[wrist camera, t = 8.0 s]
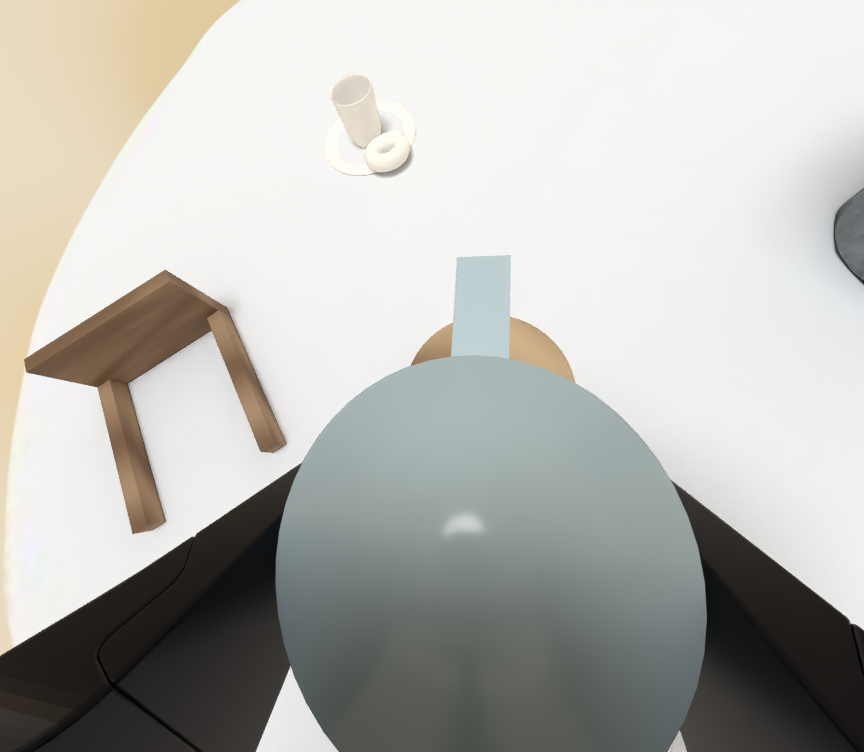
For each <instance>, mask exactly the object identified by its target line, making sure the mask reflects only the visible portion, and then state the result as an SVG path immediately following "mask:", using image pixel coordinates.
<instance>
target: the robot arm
mask: <svg viewBox="0 0 864 752" xmlns="http://www.w3.org/2000/svg"><path fill="white" fill-rule="evenodd" d="M301 465H302V463H301V464H299V465H298V466H296V467H295V468H293V469H292V470H290V471H289V472H287V473H286V474H284V475H283V476H281V477H280V478H278V479H277V480H275V481H274V482H272V483H271V484H270V485H268V486H267V487H265V488H264V489H262V490H261V491H259V492H258V493H256V494H255V495H253V496H252V497H250V498H249V499H247V500H246V501H244V502H243V503H241V504H240V505H238V506H237V507H235V508H234V509H232V510H231V511H230V512H228V513H227V514H225V515H224V516H222V517H221V518H219V519H218V520H216V521H215V522H213V523H212V524H210V525H209V526H207V527H206V528H204V529H203V530H201V531H200V532H198V533H197V534H196V536H195V537H191V538H189V539H188V540H186V541H185V542H183V543H182V544H180V545H179V546H177V547H176V548H174V549H173V550H172V551H170V552H168V553H167V554H165V555H164V556H162V557H161V558H159V559H158V560H156V561H155V562H153V563H152V564H150V565H149V566H147V567H146V568H144V569H142V570H141V571H139V572H138V573H136V574H135V575H133V576H131V577H130V578H128V579H126V580H125V581H123V582H122V583H120V584H118V585H117V586H115V587H114V588H112V589H110V590H109V591H107V592H105V593H104V594H102V595H101V596H99V597H97V598H96V599H94V600H92V601H91V602H89V603H87V604H86V605H84V606H82V607H81V608H79V609H77V610H76V611H74V612H72V613H71V614H69V615H67V616H66V617H64V618H62V619H61V620H59V621H57V622H56V623H54V624H52V625H51V626H49V627H47V628H46V629H44V630H42V631H41V632H39V633H37V634H36V635H34V636H32V637H31V638H29V639H27V640H26V641H24V642H22V643H21V644H19V645H17V646H16V647H14V648H12V649H11V650H9V651H7V652H6V653H4V654H2V655H1V656H0V752H256V750H257V747H258V745H259V742H260V740H261V737H262V735H263V732H264V730H265V727H266V725H267V723H268V720H269V718H270V715H271V713H272V710H273V708H274V705H275V703H276V700H277V698H278V695H279V693H280V691H281V688H282V686H283V683H284V681H285V678H286V676H287V673H288V671H289V668H290V666H291V665H290V661H289V658H288V655H287V652H286V649H285V646H284V641H283V636H282V632H281V627H280V622H279V617H278V608H277V597H276V553H277V545H278V537H279V530H280V525H281V521H282V517H283V513H284V508H285V504H286V501H287V498H288V496H289V493H290V490H291V487H292V484H293V482H294V479H295V477H296V475H297V473H298V471H299V469H300V467H301ZM671 482H672V483H673V485H674V487H675V489H676V491H677V493H678V496H679V498H680V500H681V502H682V504H683V506H684V509H685V511H686V513H687V515H688V518H689V521H690V524H691V527H692V530H693V533H694V537H695V540H696V543H697V546H698V549H699V555H700V560H701V565H702V570H703V576H704V581H705V594H706V611H707V624H706V637H705V651H704V657H703V662H702V666H701V671H700V676H699V680H698V685H697V689H696V692H695V694H694V697H693V700H692V702H691V705H690V708H689V710H688V713H687V715H686V718H685V721H684V723H683V725H682V726H681V728H680V731H681V734H682V737H683V740H684V743H685V746H686V750H687V752H864V630H863V629H861V628H860V627H859V626H858V625H855V624H850V621H849V619H848V618H847V617H846V616H845V615H843V614H842V613H841V612H839V611H838V610H837V609H836V608H834V607H833V606H832V605H830V604H829V603H828V602H827V601H825V600H824V599H823V598H821V597H820V596H819V595H818V594H816V593H815V592H814V591H813V590H811V589H810V588H809V587H807V586H806V585H805V584H804V583H802V582H801V581H800V580H798V579H797V578H796V577H795V576H793V575H792V574H791V573H789V572H788V571H787V570H786V569H784V568H783V567H782V566H780V565H779V564H778V563H777V562H775V561H774V560H773V559H772V558H770V557H769V556H768V555H766V554H765V553H764V552H763V551H761V550H760V549H759V548H757V547H756V546H755V545H754V544H752V543H751V542H750V541H748V540H747V539H746V538H745V537H743V536H742V535H741V534H739V533H738V532H737V531H736V530H734V529H733V528H732V527H731V526H729V525H728V524H727V523H725V522H724V521H723V520H722V519H720V518H719V517H718V516H716V515H715V514H714V513H713V512H711V511H710V510H709V509H707V508H706V507H705V506H704V505H702V504H701V503H700V502H698V501H697V500H696V499H695V498H693V497H692V496H691V495H690V494H688V493H687V492H686V491H684V490H683V489H682V488H681V487H679V486H678V485H677V484H675V483H674V482H673V481H672V480H671Z"/></svg>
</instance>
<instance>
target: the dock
mask: <svg viewBox="0 0 864 752" xmlns="http://www.w3.org/2000/svg"><path fill="white" fill-rule="evenodd" d="M211 330H212V332H213V334H214V337H215V339H216V342H217V344H218V347H219V349H220V352H221V354H222V357H223V359H224V362H225V364H226V367H227V369H228V372H229V374H230V377H231V379H232V382H233V384H234V387H235V389H236V392H237V394H238V397H239V399H240V402H241V404H242V406H243V409H244V411H245V414H246V416H247V419H248V421H249V424H250V426H251V429H252V431H253V434H254V436H255V439H256V441H257V444H258V446H259V449H260V451H261V452H270V453H273V452H275V451H276V450H278V449H280V448H281V447H283V446H284V445H286V443H285V440H284V438H283V436H282V434H281V431H280V429H279V427H278V424H277V422H276V420H275V417H274V415H273V413H272V411H271V408H270V406H269V404H268V401H267V399H266V397H265V394H264V392H263V390H262V387H261V385H260V383H259V381H258V378H257V376H256V374H255V371H254V369H253V367H252V364H251V362H250V360H249V358H248V355H247V353H246V351H245V348H244V346H243V344H242V341H241V339H240V337H239V334H238V332H237V330H236V328H235V325H234V323H233V321H232V318H231V316H230V314H229V311H228V309H227V307H225V306H223V305H222V304H220V303H218V302H217V301H215V300H214V299H212V298H210V297H209V296H207V295H205V294H204V293H202V292H201V291H199V290H197V289H196V288H194V287H192V286H191V285H189V284H188V283H186V282H184V281H183V280H181V279H179V278H178V277H176V276H175V275H173V274H171V273H170V272H168V271H166V270H164V271H163V272H161V273H159V274H158V275H156V276H155V277H153V278H152V279H150V280H148V281H147V282H145V283H144V284H142V285H141V286H139V287H137V288H136V289H134V290H133V291H131V292H130V293H128V294H126V295H125V296H123V297H122V298H120V299H118V300H117V301H115V302H114V303H112V304H111V305H109V306H107V307H106V308H104V309H103V310H101V311H100V312H98V313H96V314H95V315H93V316H92V317H90V318H89V319H87V320H85V321H84V322H82V323H81V324H79V325H78V326H76V327H74V328H73V329H71V330H70V331H68V332H67V333H65V334H63V335H62V336H60V337H59V338H57V339H56V340H54V341H52V342H51V343H49V344H48V345H46V346H45V347H43V348H41V349H40V350H38V351H37V352H35V353H34V354H32V355H30V356H29V357H27V358H26V359H25V360H24V361H25V368H26V372H27V373H32V374H36V375H41V376H46V377H51V378H56V379H60V380H65V381H70V382H75V383H80V384H84V385H89V386H94V387H98V391H99V396H100V400H101V404H102V408H103V412H104V416H105V421H106V425H107V429H108V433H109V437H110V441H111V445H112V450H113V454H114V458H115V462H116V466H117V470H118V475H119V479H120V483H121V487H122V491H123V495H124V500H125V504H126V508H127V512H128V516H129V520H130V525H131V529H132V533H133V534H134V533H140V532H145V531H151V530H153V529H155V528H156V527H158V526H159V525H161V524H163V523H164V522H165V520H164V516H163V512H162V509H161V505H160V501H159V498H158V494H157V491H156V487H155V483H154V480H153V476H152V472H151V469H150V465H149V462H148V458H147V454H146V451H145V447H144V444H143V440H142V436H141V433H140V429H139V425H138V422H137V418H136V415H135V411H134V407H133V404H132V400H131V396H130V393H129V389H128V386H127V383H129V382H131V381H132V380H134V379H135V378H137V377H138V376H140V375H142V374H143V373H145V372H146V371H148V370H149V369H151V368H153V367H154V366H156V365H157V364H159V363H160V362H162V361H164V360H165V359H167V358H168V357H170V356H171V355H173V354H175V353H176V352H178V351H179V350H181V349H182V348H184V347H186V346H187V345H189V344H190V343H192V342H193V341H195V340H196V339H198V338H200V337H201V336H203V335H204V334H206V333H207V332H209V331H211Z"/></svg>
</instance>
